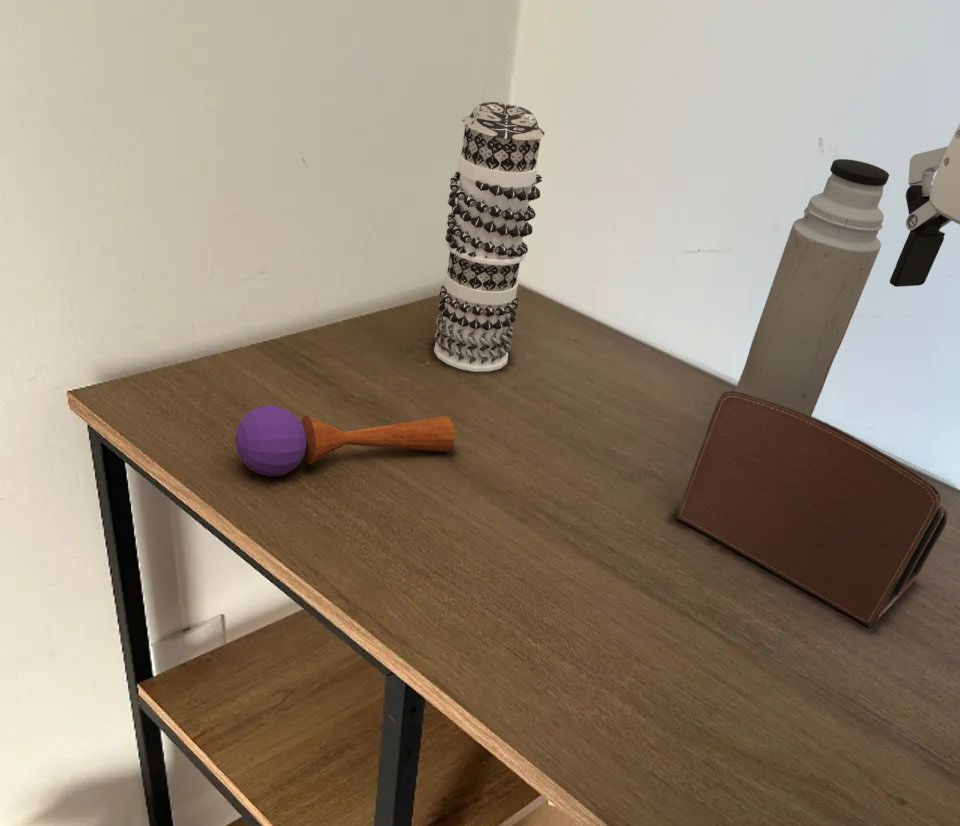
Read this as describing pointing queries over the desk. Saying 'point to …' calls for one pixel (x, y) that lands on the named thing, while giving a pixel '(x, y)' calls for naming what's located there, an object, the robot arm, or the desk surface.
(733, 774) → the desk surface
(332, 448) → the kendama
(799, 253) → the thermos bottle
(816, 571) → the letter holder
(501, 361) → the white patterned cylinder
